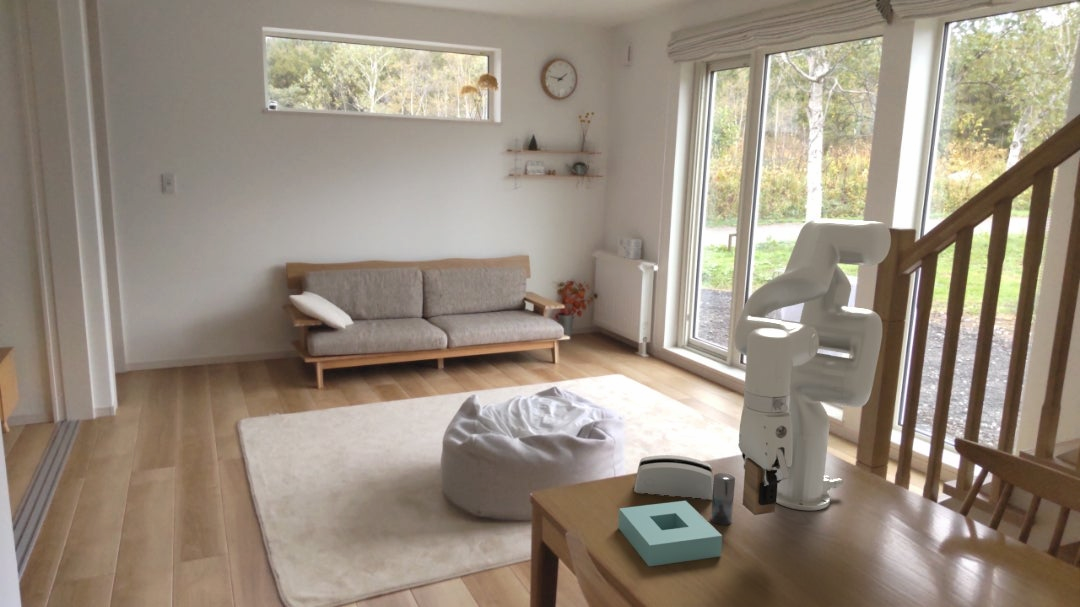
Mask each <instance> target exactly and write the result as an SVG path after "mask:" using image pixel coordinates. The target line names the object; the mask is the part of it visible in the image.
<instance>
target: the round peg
mask: <svg viewBox="0 0 1080 607" xmlns="http://www.w3.org/2000/svg"><path fill="white" fill-rule="evenodd" d="M735 486H736V477H735V476H734V475H731V474H729V473H724V472H722V473H716V474H714V475H713V497H712V500H711V515H710V520H712V523H714V524H716V525H717V526H718V525H719V526H728V525H731V524H732V523H733V521H732V520H733V513H734V512H733V509H734V500H735V497H734V496H735Z"/></svg>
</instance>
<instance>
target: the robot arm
mask: <svg viewBox="0 0 1080 607" xmlns="http://www.w3.org/2000/svg"><path fill="white" fill-rule="evenodd" d="M891 236H892V235H891V230H890V228H889V227H888V226H887V224H886V223H885V222H881V221H869V220H867V221H866V220H851V219H850V220H849V219H833V218H819V219H818V218H816V219H813V220H810V221H808V222H806V223H805V224H804V225H803V226H802V227H801V229H800V231H799V234H798V236H797V239H796V241H795V244H794V247H793V249H792V250H791V254H790V257H789V259H788V262H787V264H786V266H785V270H784V272H783V273H781V274H780V275H777V276H775V277H773V278H772V279H770V280H769V281H767V282H766V283H764V284H763V285H760V287H759V288H757V289H756V290H755V291H754V292H752V294H751V295H750V296H749V298H748V299H747V301H746V302H745V304H744V307H743V309H742V311H741V314H740V316H739V317H738V321H737V323H736V327H735V330H734V337H733V338H734V340H733V341H734V346H735V348H736V351H738V353H740V354H742V355H744V356H746V361H745V375H744V376H745V378H744V380H745V381H744V391H743V392H744V393H743V406H742V411H741V417H740V423H739V433H738V448H739V450H740V452H741V456H742V459H743V470H744V471H745V459H746V458H750V459H751V460H753V461H754V462H755V463H757V464H758V465H760V466H761V467H762V482H763V483H760V490H759V504H760V505H768V504H774V503H775V504H778V505H780V506H783V507H786V508H789V509H792V510H798V511H799V510H800V511H809V512H810V511H811V512H812V511H820V510H823V509H826V508H827V507H828V506H829V505H830V503H831V497H830V494H829V493H828V491H830V490H831V489H840V488H842V487H843V486H844V483H843V480H842V479H841V478H832V479H830V477H829V475H825V474H826V463H827V454H828V445H829V444H828V443H829V432H830V419H829V414H828V413H827V411H826V409H825V407H824V405H823V404H822V403H827V404H828V403H829V404H833V405H838V406H843V407H850V408H861V407H863V406H865V405H866V404H867V402H868V401H869V400H870V397H871V394H872V389H873V385H874V382H875V374H876V370H877V365H878V360H879V356H880V351H881V346H882V338H883V322H882V318H881V316H880V315H879V314H878V313H877V312H875V311H874V310H872V309H868V308H861V307H860V308H859V307H852V306H849V301H850V296H851V292H852V285H851V282H850V279H848V277H847V275H846V274H845V272H844V271H843V269H842V268H841V267H840V266H839V264H843V265H850V266H851V265H853V266H865V267H866V266H867V267H869V266H870V267H871V266H875V265H879V264H881V263H882V262H883V261H884V260H885V259H886V258H887V256H888V254H889V251H890V249H891V245H892V244H891V243H892V237H891ZM801 304H803V306H802V311H801V313H800V314H801V315H800V319H799V321H794V320H785V319H781V318H780V319H779V318H773V317H767V316H768V315H770V314H771V313H773V312H774V311H777V310H780V309H784V308H786V307H791V306H796V305H801ZM819 350H822V351H823V350H824V351H829V352H834V353H835V352H836V353H842V354H847V355H851V358H850V357H843V356H837V355H831V354H826V353H820V352H818V351H819ZM772 464H774V465H772ZM768 471H773V474H771V475H770V476H769V473H768Z"/></svg>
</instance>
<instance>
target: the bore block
mask: <svg viewBox="0 0 1080 607" xmlns="http://www.w3.org/2000/svg"><path fill="white" fill-rule="evenodd" d="M617 526H618V529H619V530H620V532H621V533H622V534H623V536H624V537H625V539H627V540H628V542H629V543H630V545H631V546H632V547H633V548H634V550H636V552H637V553H638V555H639V556H640V558H642V560H643V561H644V562H645V564H646V565H647V566H648V567H654V566H655V567H656V566H660V565H661V566H662V565H669V564H675V563H683V562H690V561H697V560H703V559H711V558H718V557H721V556H722V543H723V534H721V533H720V532H719V531H718V530H717V529H716V528H715V526H713V525H712V524H711V523H710V522H708V520H707V519H706V518H704V516H702V514H700V513H699V511H697V509H695V507H693V506H692V505H691V504H690V503H689V502H688V501H687V500H679V501H671V502H662V503H655V504H645V505H636V506H630V507H629V506H628V507H621V508H619V509H618V525H617Z"/></svg>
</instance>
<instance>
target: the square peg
mask: <svg viewBox="0 0 1080 607" xmlns="http://www.w3.org/2000/svg"><path fill="white" fill-rule="evenodd" d="M772 465H774V464H772ZM768 473H769V476H770V475H771V474H773V471H768ZM760 483H763V482H762V467H761V466H760V465H758V464H757V463H755V462H754V461H753V460H751V459H750V458H746V459H745V470H744V477H743V491H742V492H743V494H742V506H744V508H746V509H747V510H748V511H749V512H750V513H751V514H752V515H754V516H758V515H766V514H773V513H775V512H776V503H774V504H768V505H760V504H759V490H760Z"/></svg>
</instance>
